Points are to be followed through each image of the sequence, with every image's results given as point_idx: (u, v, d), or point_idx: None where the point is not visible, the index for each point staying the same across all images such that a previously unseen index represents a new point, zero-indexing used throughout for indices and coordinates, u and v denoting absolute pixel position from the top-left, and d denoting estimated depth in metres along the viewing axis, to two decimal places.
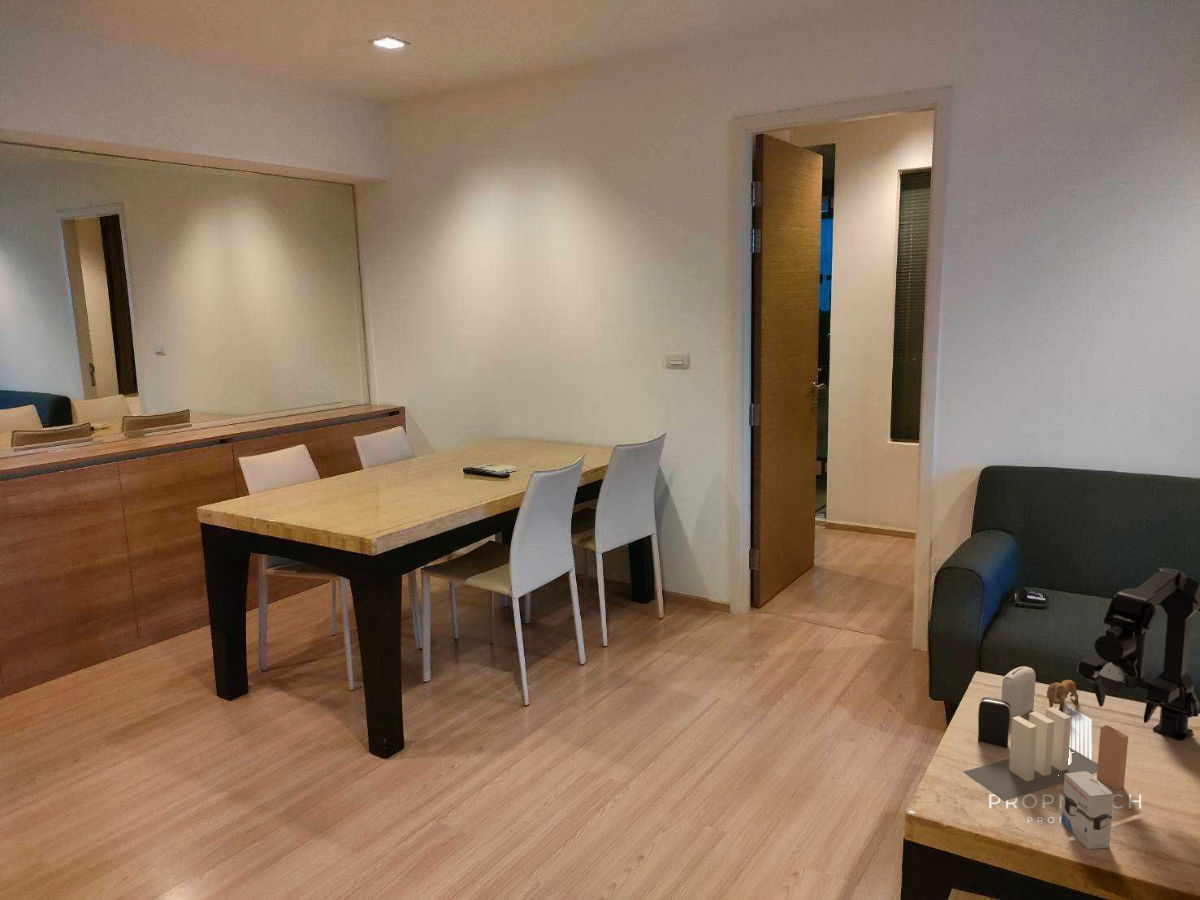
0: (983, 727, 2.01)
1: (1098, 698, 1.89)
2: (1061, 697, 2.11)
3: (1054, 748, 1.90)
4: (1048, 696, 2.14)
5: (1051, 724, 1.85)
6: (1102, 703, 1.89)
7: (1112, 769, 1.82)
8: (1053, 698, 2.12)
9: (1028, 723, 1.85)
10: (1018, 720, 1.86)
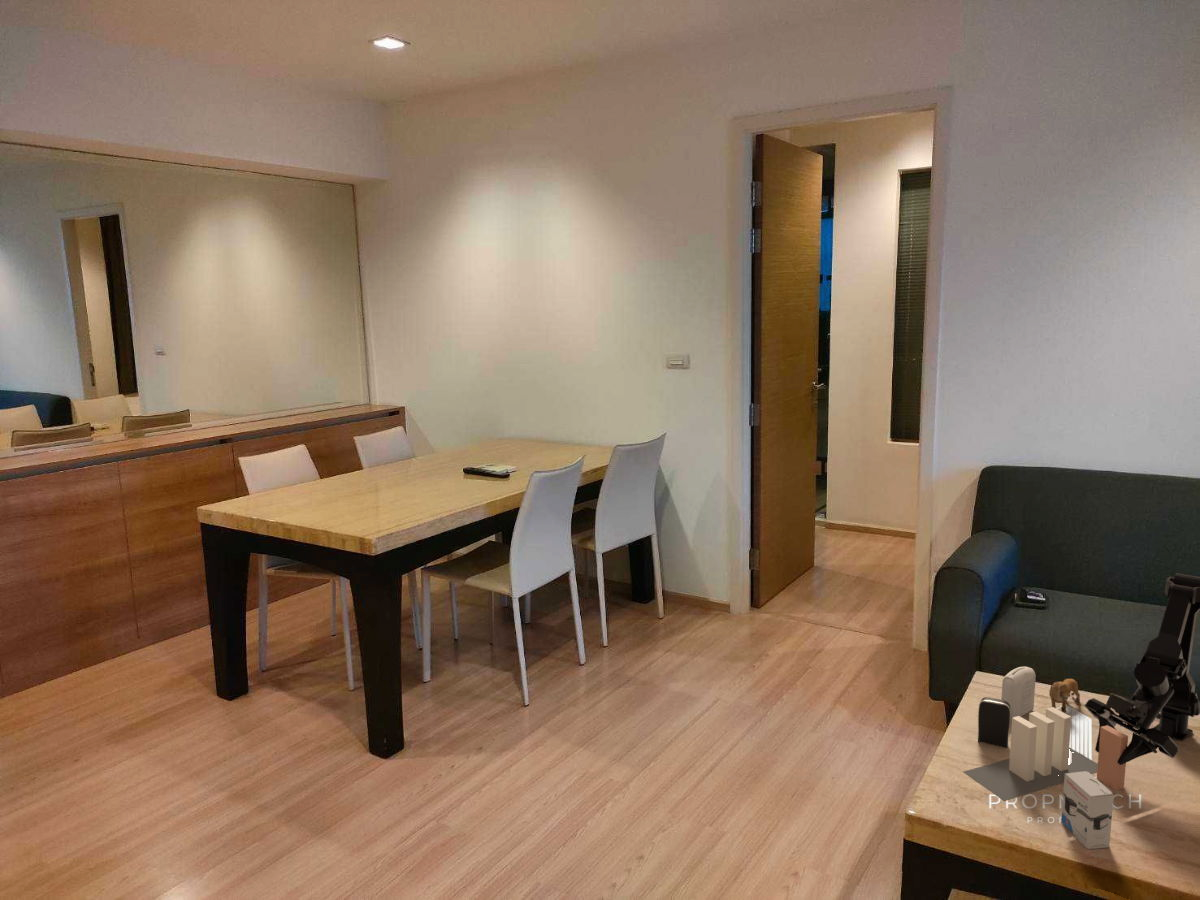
0: (983, 727, 2.01)
1: (1098, 741, 1.85)
2: (1064, 696, 2.11)
3: (1054, 748, 1.90)
4: (1051, 695, 2.14)
5: (1051, 724, 1.85)
6: None
7: (1112, 769, 1.82)
8: (1056, 697, 2.12)
9: (1028, 723, 1.85)
10: (1018, 720, 1.86)
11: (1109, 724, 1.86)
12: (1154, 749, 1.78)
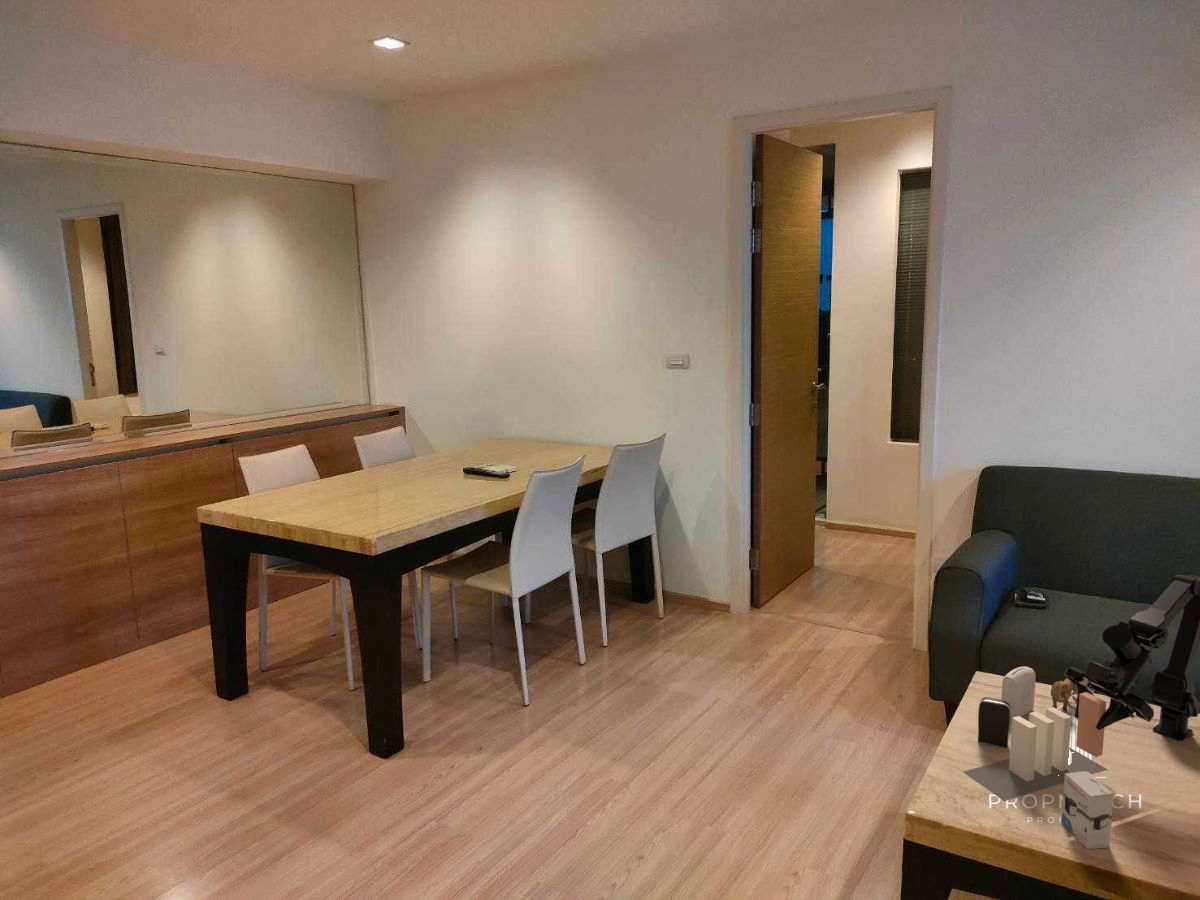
0: (983, 727, 2.01)
1: (1077, 708, 1.89)
2: (1065, 696, 2.12)
3: (1054, 748, 1.90)
4: (1052, 695, 2.15)
5: (1051, 724, 1.85)
6: None
7: (1091, 734, 1.86)
8: (1057, 697, 2.13)
9: (1028, 723, 1.85)
10: (1018, 720, 1.86)
11: (1088, 691, 1.90)
12: (1131, 714, 1.82)
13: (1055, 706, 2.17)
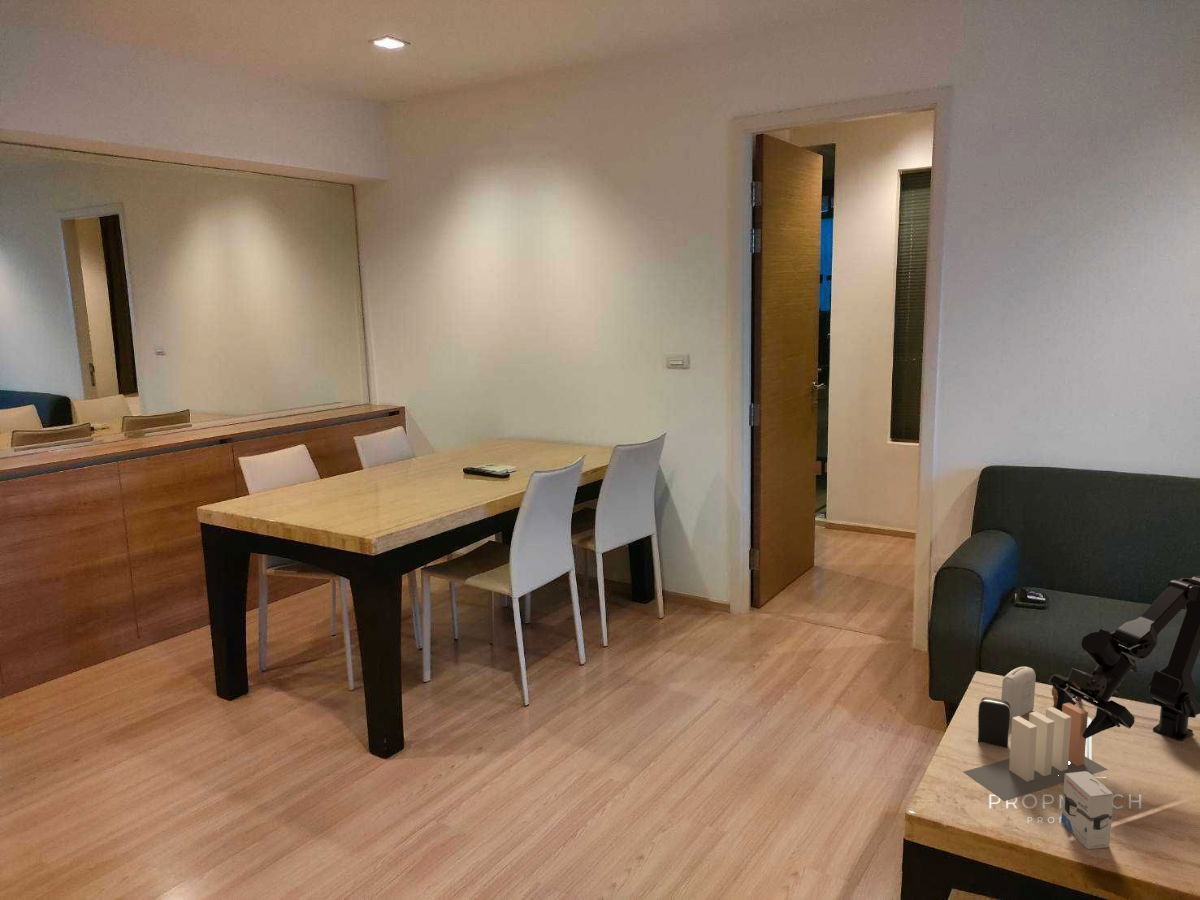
0: (983, 727, 2.01)
1: None
2: None
3: (1054, 748, 1.90)
4: (1053, 694, 2.15)
5: (1051, 724, 1.85)
6: None
7: (1073, 744, 1.91)
8: None
9: (1028, 723, 1.85)
10: (1018, 720, 1.86)
11: (1067, 696, 1.96)
12: (1117, 723, 1.86)
13: (1056, 705, 2.17)
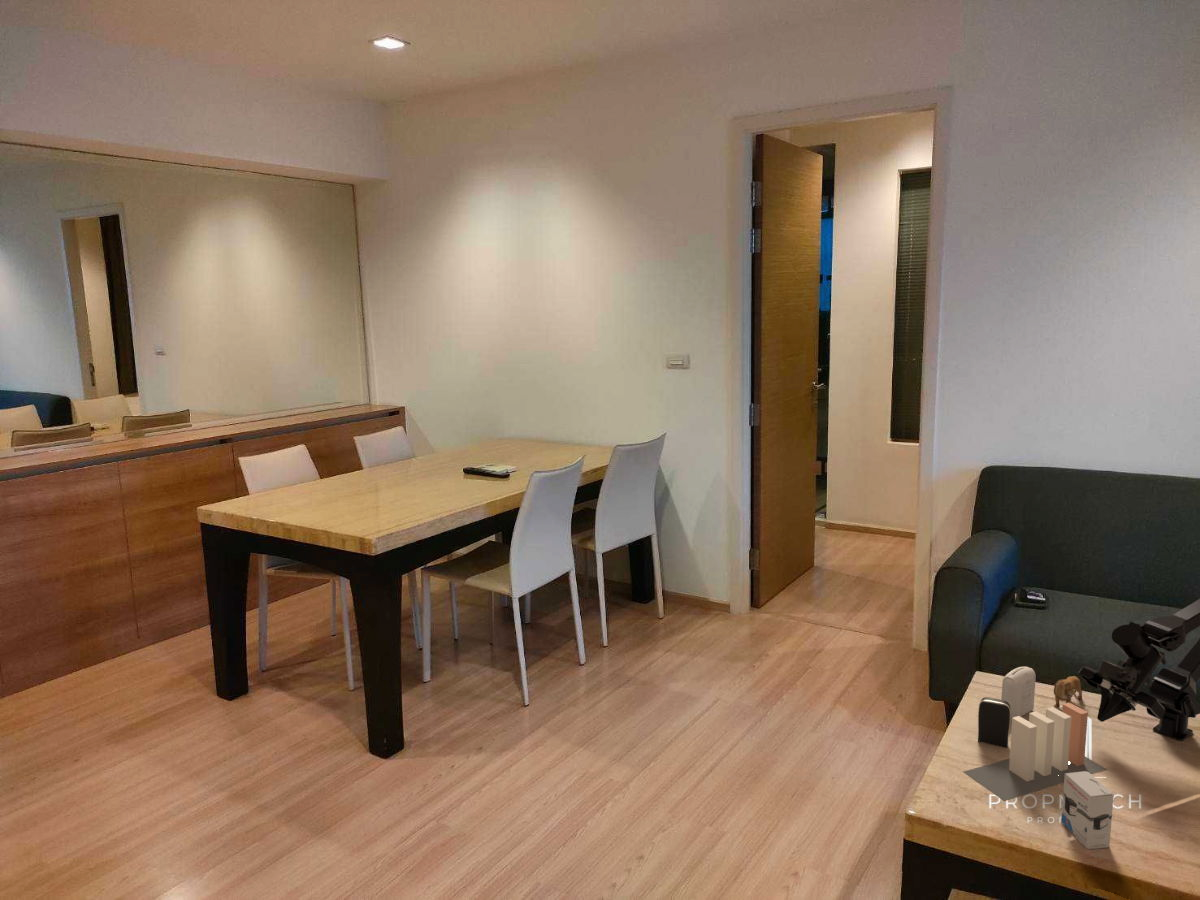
0: (983, 727, 2.01)
1: (1100, 710, 1.95)
2: (1069, 694, 2.12)
3: (1054, 748, 1.90)
4: (1055, 693, 2.15)
5: (1051, 724, 1.85)
6: None
7: (1073, 744, 1.91)
8: (1061, 695, 2.13)
9: (1028, 723, 1.85)
10: (1018, 720, 1.86)
11: (1110, 694, 1.95)
12: (1133, 707, 1.92)
13: (1058, 704, 2.18)
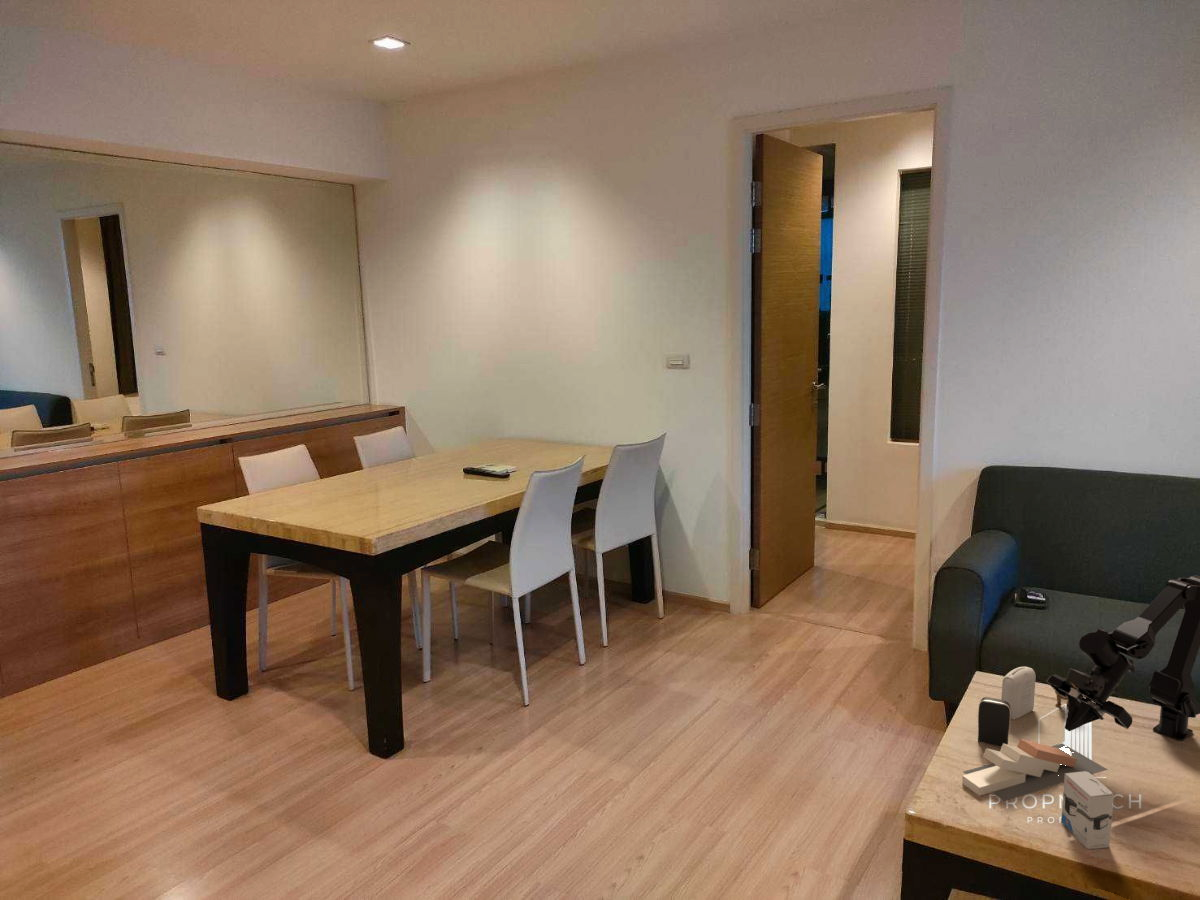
0: (983, 727, 2.01)
1: (1068, 719, 1.92)
2: None
3: None
4: None
5: (1004, 763, 1.82)
6: None
7: None
8: None
9: (973, 786, 1.83)
10: (967, 786, 1.84)
11: (1078, 703, 1.92)
12: (1100, 716, 1.89)
13: (1059, 703, 2.18)
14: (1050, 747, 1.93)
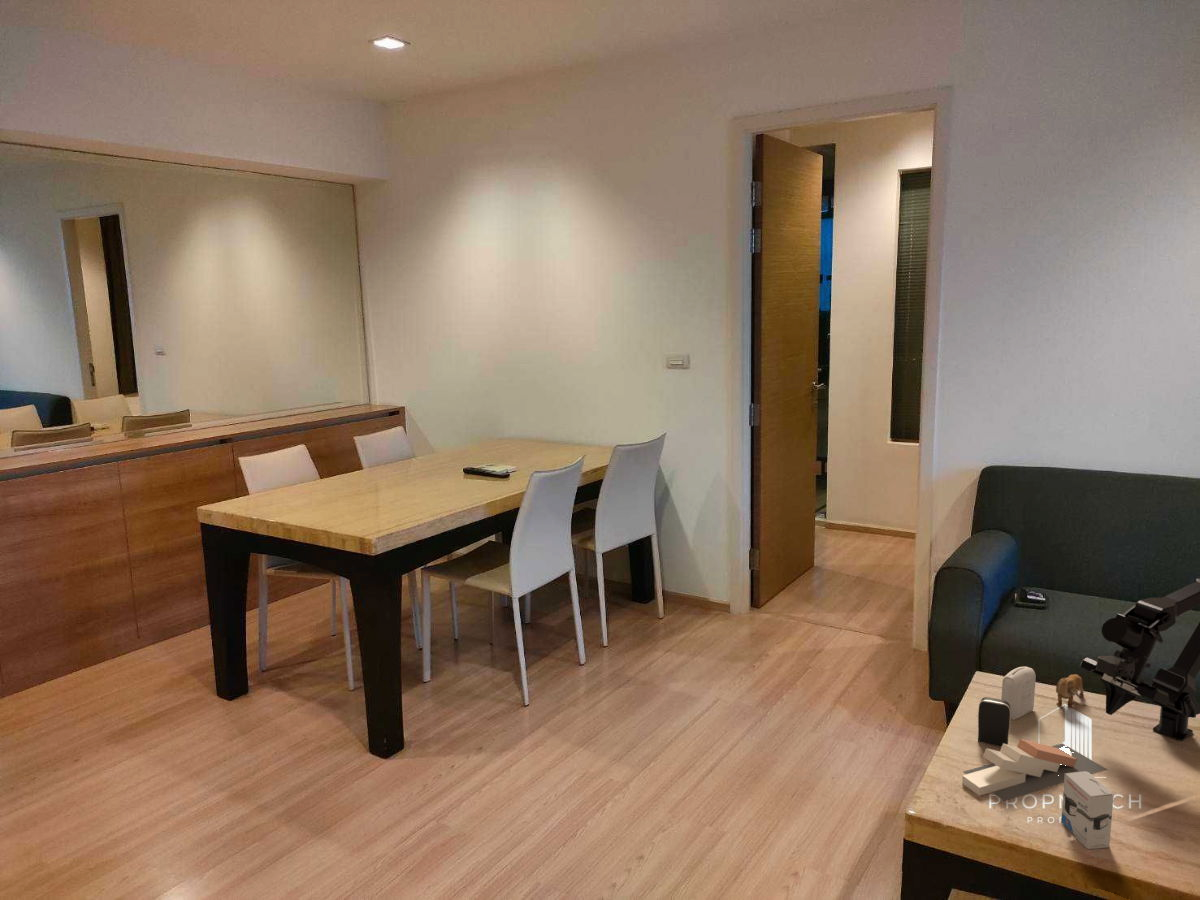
0: (983, 727, 2.01)
1: (1107, 704, 1.95)
2: (1072, 692, 2.13)
3: None
4: (1058, 691, 2.16)
5: (1004, 763, 1.82)
6: None
7: None
8: (1064, 693, 2.14)
9: (973, 786, 1.83)
10: (967, 786, 1.84)
11: (1114, 686, 1.95)
12: (1138, 695, 1.92)
13: (1060, 702, 2.19)
14: (1050, 747, 1.93)
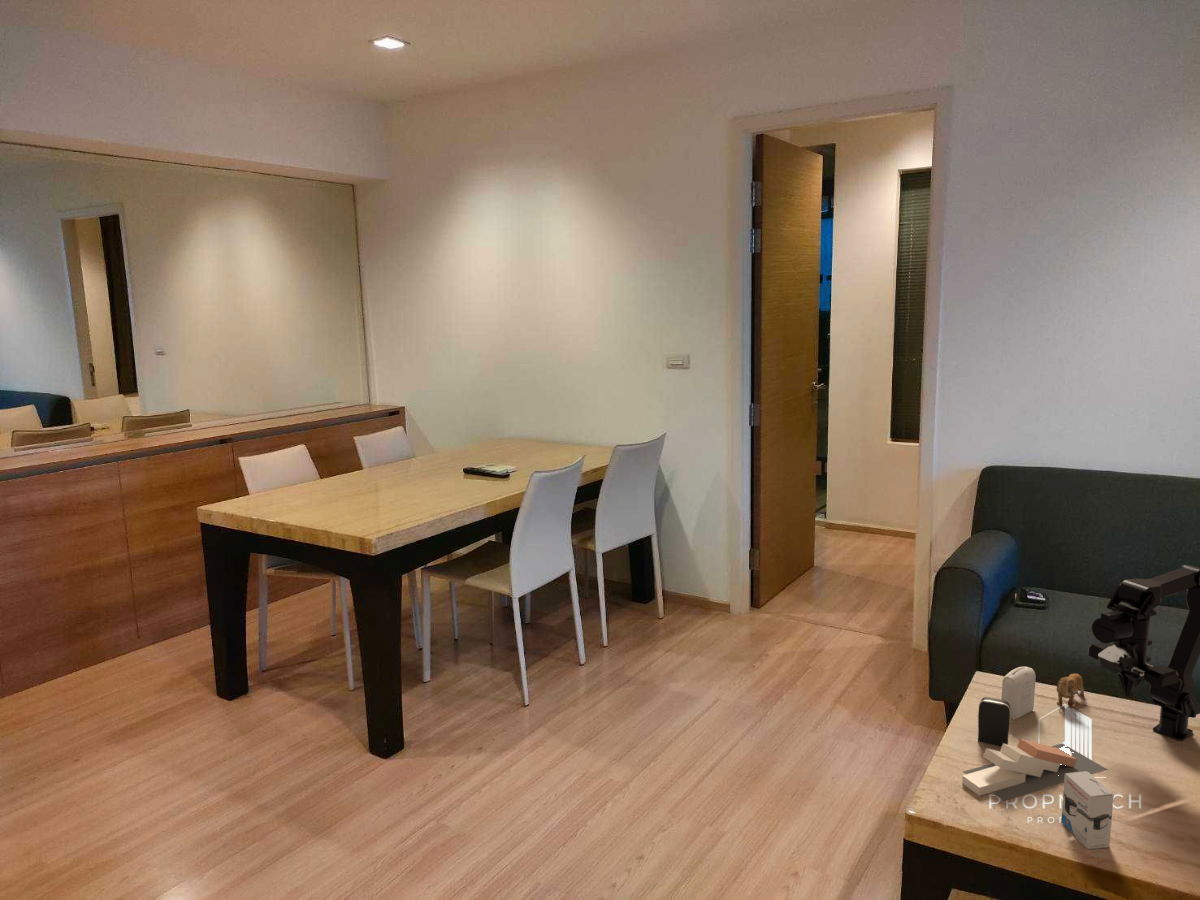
0: (983, 727, 2.01)
1: (1124, 688, 1.96)
2: (1072, 691, 2.14)
3: None
4: (1059, 691, 2.16)
5: (1004, 763, 1.82)
6: None
7: None
8: (1064, 692, 2.15)
9: (973, 786, 1.83)
10: (967, 786, 1.84)
11: (1124, 670, 1.95)
12: None
13: (1061, 702, 2.19)
14: (1050, 747, 1.93)
